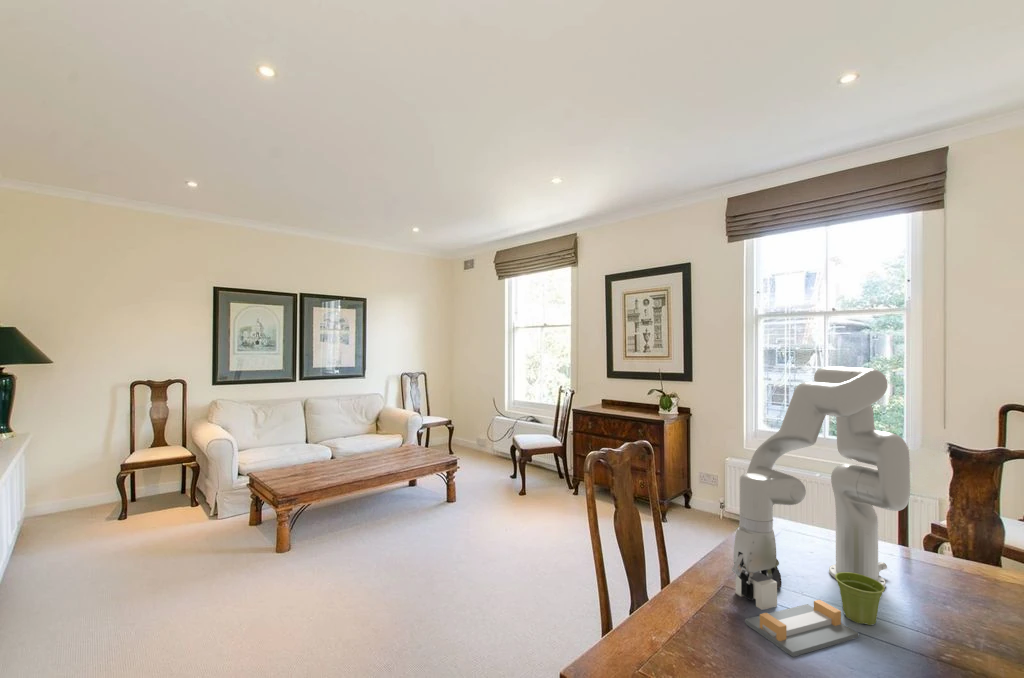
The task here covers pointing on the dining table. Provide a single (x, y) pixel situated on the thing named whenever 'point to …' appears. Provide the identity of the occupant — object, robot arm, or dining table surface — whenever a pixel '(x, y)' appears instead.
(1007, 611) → the dining table surface
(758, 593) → the block
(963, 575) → the dining table surface
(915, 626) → the dining table surface
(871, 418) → the robot arm
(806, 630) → the rail board
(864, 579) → the plant pot
